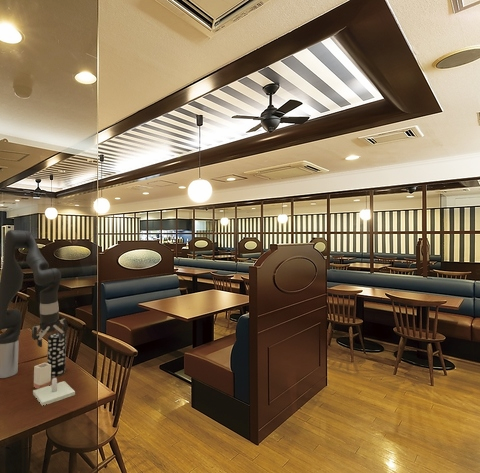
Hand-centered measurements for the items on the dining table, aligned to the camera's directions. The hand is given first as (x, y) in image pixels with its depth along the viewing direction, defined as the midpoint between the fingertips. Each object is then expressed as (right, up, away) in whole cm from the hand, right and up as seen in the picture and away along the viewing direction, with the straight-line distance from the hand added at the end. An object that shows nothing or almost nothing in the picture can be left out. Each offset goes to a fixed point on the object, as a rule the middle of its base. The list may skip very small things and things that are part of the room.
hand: (50, 343), depth 143 cm
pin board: (+5, -22, -6) cm, 23 cm away
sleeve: (-5, -21, +1) cm, 22 cm away
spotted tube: (-7, -21, +15) cm, 27 cm away
